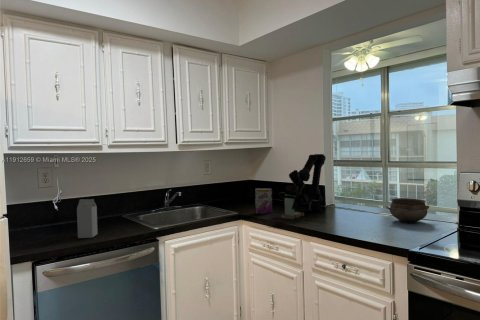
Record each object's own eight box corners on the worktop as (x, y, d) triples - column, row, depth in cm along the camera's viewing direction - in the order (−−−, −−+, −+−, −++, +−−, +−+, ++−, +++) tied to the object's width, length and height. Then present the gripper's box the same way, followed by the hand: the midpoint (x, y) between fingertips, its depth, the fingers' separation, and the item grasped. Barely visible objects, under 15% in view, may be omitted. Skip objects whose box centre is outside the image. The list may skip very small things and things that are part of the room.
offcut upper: (292, 214, 203) (291, 212, 203) (300, 215, 199) (300, 213, 199) (288, 215, 200) (288, 213, 200) (297, 217, 196) (297, 214, 196)
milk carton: (83, 234, 167) (82, 198, 167) (97, 234, 168) (96, 198, 167) (77, 238, 160) (76, 200, 160) (92, 237, 161) (91, 200, 160)
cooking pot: (417, 217, 192) (417, 197, 192) (440, 224, 174) (440, 202, 173) (378, 219, 190) (378, 198, 189) (397, 226, 171) (397, 204, 170)
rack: (293, 215, 206) (293, 211, 205) (304, 216, 200) (304, 212, 200) (281, 218, 196) (281, 214, 196) (292, 220, 190) (292, 216, 190)
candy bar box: (255, 214, 212) (254, 189, 211) (255, 212, 217) (255, 188, 216) (272, 214, 211) (271, 189, 210) (272, 212, 216) (271, 188, 215)
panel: (286, 218, 198) (286, 197, 197) (294, 219, 194) (294, 198, 194) (284, 218, 196) (284, 198, 196) (292, 219, 193) (292, 199, 192)
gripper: (279, 179, 204) (269, 199, 196) (306, 180, 191) (296, 201, 183) (287, 190, 210) (277, 209, 202) (312, 192, 197) (303, 213, 189)
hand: (288, 208), depth 194 cm, fingers closed on panel, 5 cm apart
